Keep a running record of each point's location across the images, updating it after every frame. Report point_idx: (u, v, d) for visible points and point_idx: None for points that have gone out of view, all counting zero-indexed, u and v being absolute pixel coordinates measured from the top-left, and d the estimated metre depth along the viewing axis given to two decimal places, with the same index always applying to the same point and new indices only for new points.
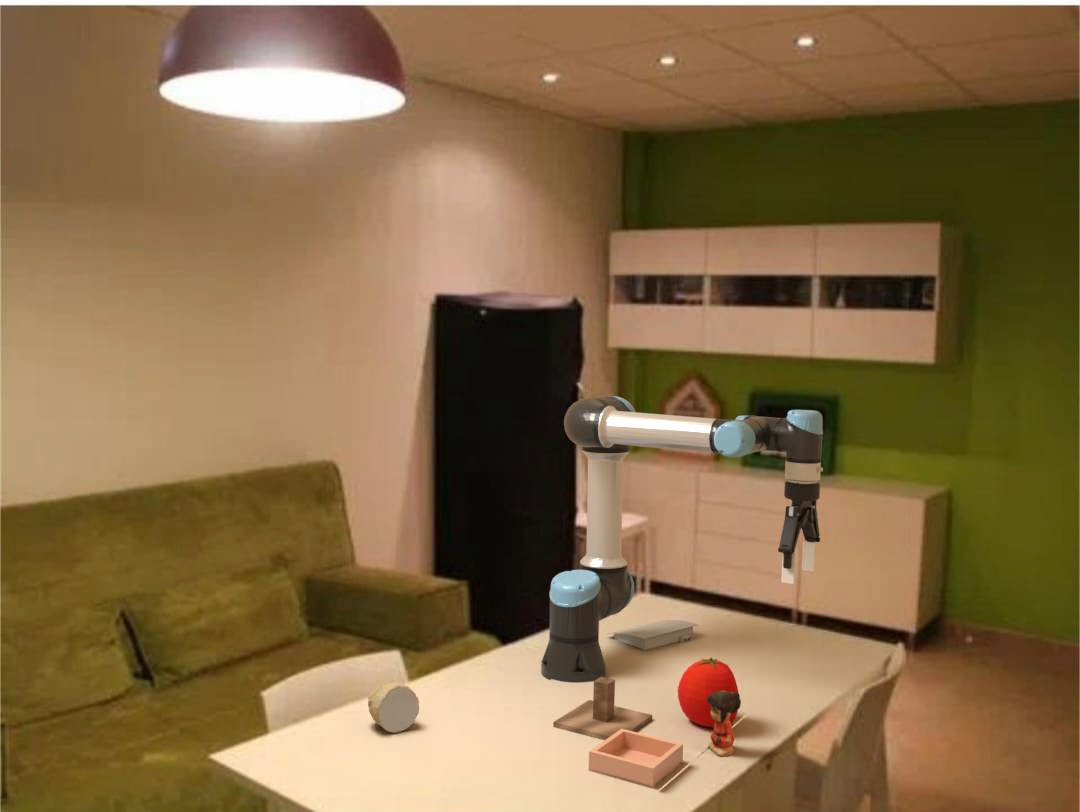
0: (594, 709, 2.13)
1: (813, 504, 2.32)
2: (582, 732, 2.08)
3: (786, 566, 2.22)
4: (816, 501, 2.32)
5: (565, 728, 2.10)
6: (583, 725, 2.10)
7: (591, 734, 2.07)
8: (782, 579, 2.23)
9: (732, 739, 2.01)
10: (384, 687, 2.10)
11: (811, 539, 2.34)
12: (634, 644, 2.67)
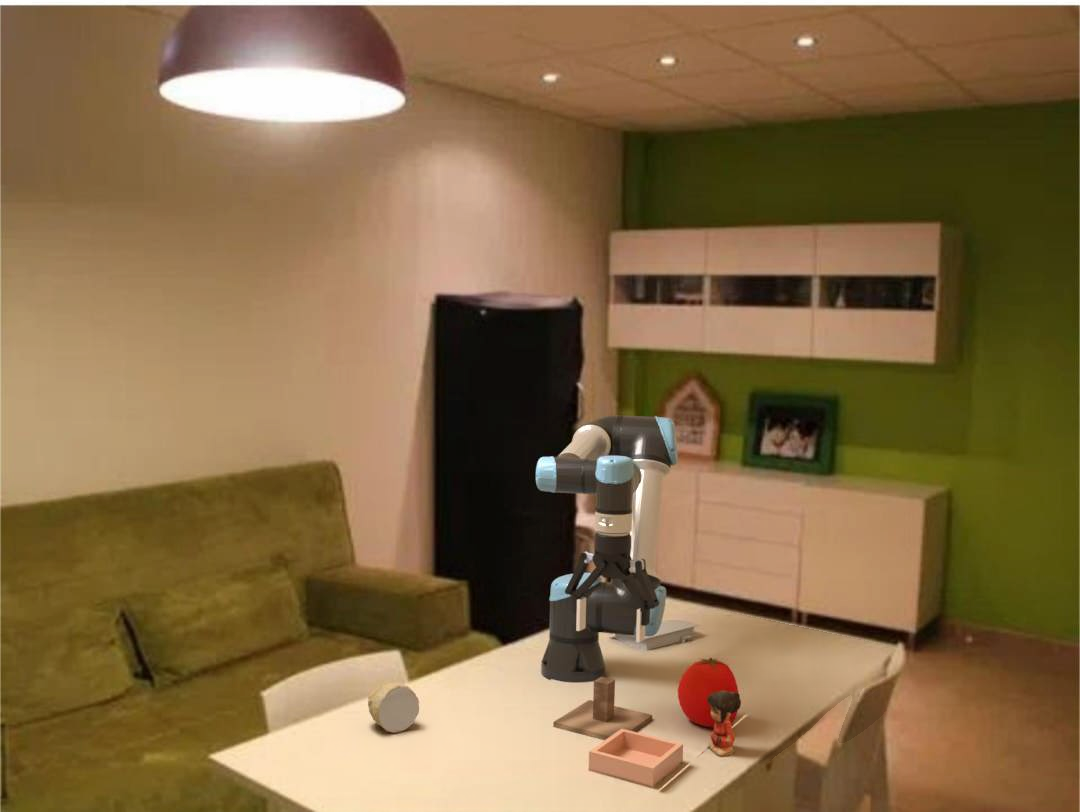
0: (594, 709, 2.13)
1: None
2: (582, 732, 2.08)
3: None
4: (638, 563, 2.08)
5: (565, 728, 2.10)
6: (583, 725, 2.10)
7: (591, 734, 2.07)
8: None
9: (732, 739, 2.01)
10: (384, 687, 2.10)
11: None
12: (635, 644, 2.67)
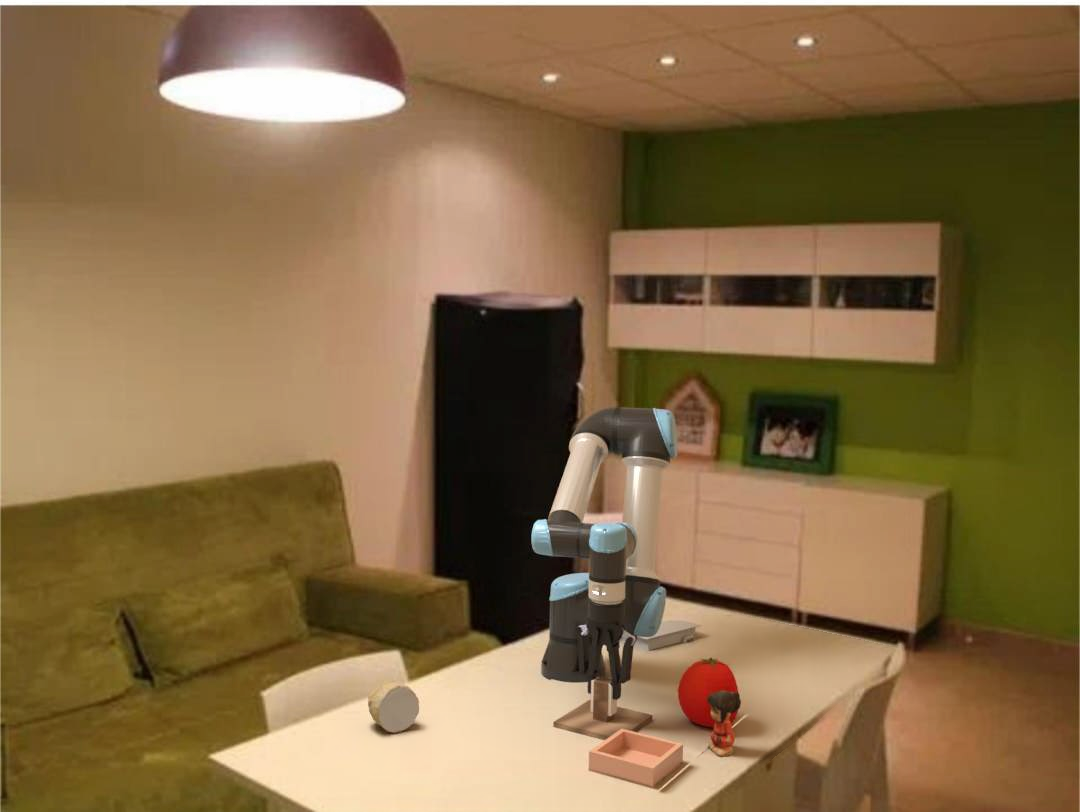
0: (594, 709, 2.13)
1: None
2: (582, 732, 2.08)
3: None
4: (629, 640, 2.09)
5: (565, 728, 2.10)
6: (583, 725, 2.10)
7: (591, 734, 2.07)
8: None
9: (732, 739, 2.01)
10: (384, 687, 2.10)
11: None
12: (637, 645, 2.67)
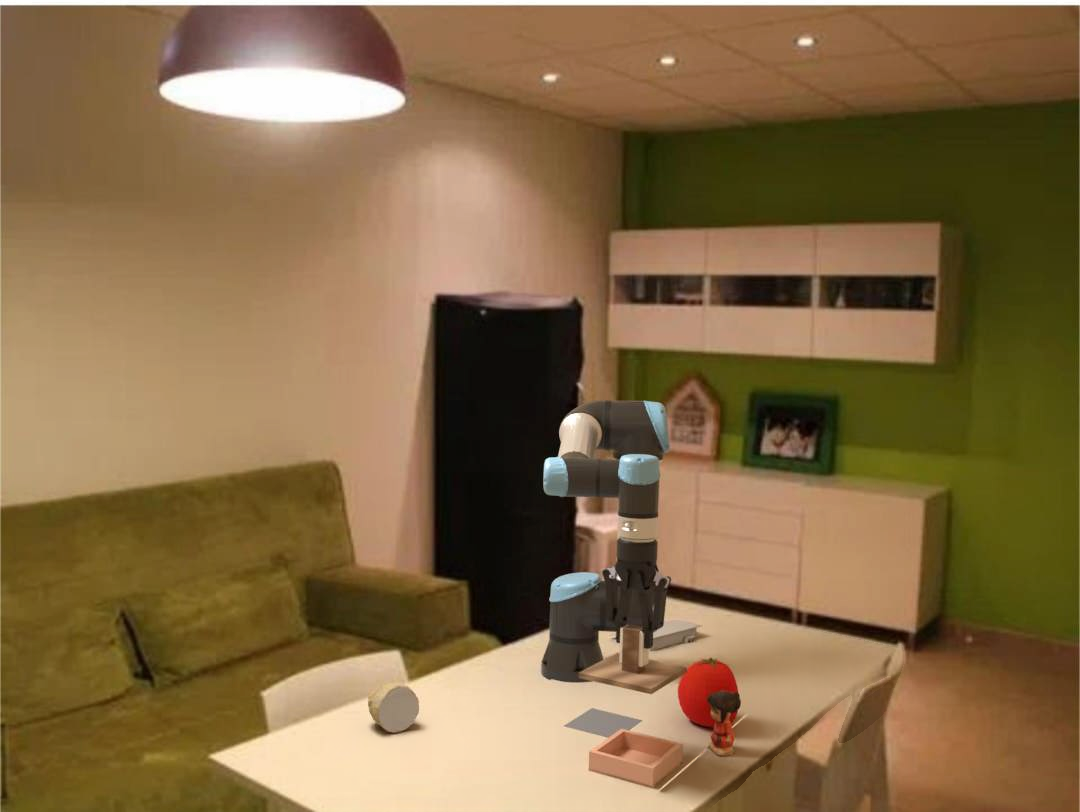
0: (623, 659, 1.94)
1: None
2: (610, 683, 1.89)
3: None
4: (663, 581, 1.89)
5: (591, 679, 1.91)
6: (611, 676, 1.90)
7: (620, 685, 1.87)
8: None
9: (732, 739, 2.01)
10: (384, 687, 2.10)
11: None
12: None
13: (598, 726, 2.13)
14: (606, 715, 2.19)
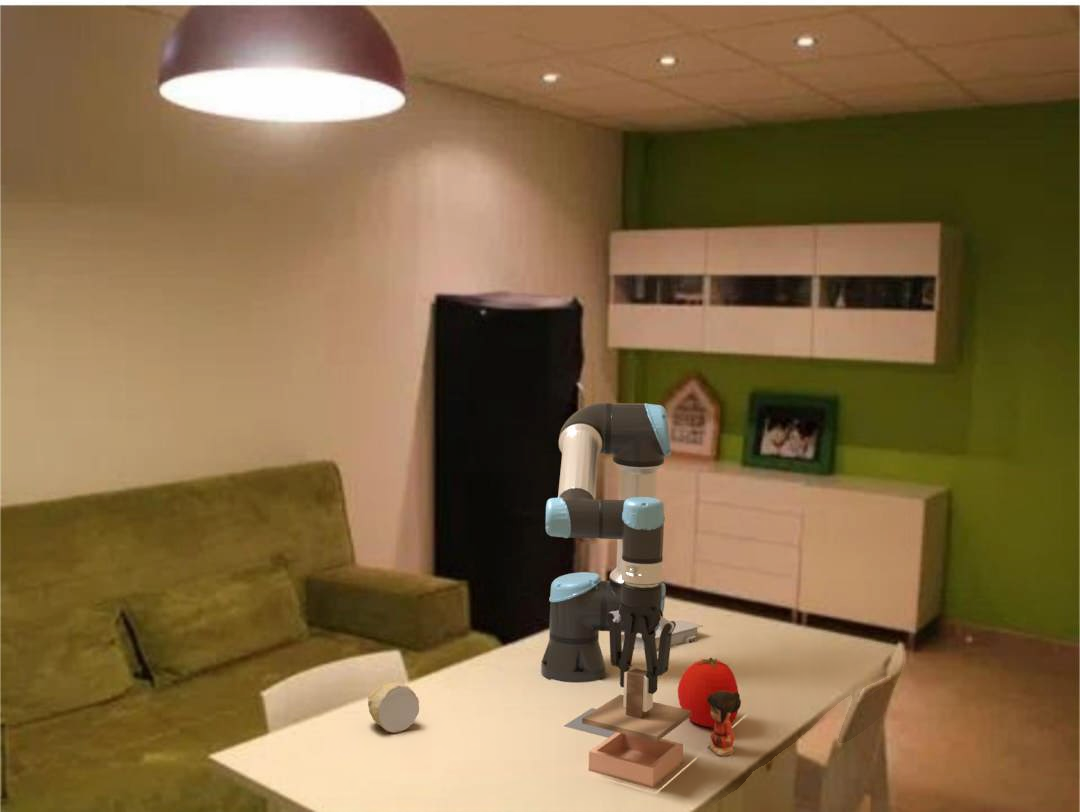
0: (627, 704, 1.92)
1: None
2: (615, 729, 1.87)
3: None
4: (667, 627, 1.87)
5: (595, 725, 1.89)
6: (615, 722, 1.89)
7: (625, 732, 1.86)
8: None
9: (732, 739, 2.01)
10: (384, 687, 2.10)
11: None
12: (639, 645, 2.66)
13: None
14: None
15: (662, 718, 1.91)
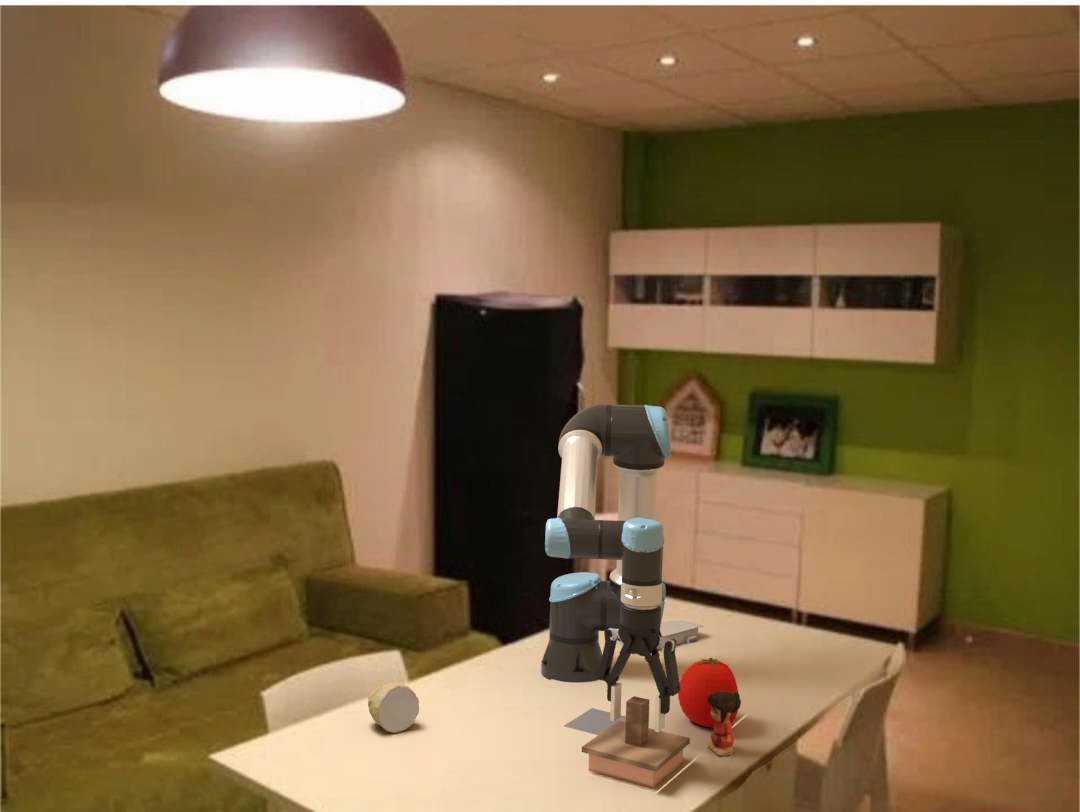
0: (626, 732, 1.93)
1: None
2: (614, 758, 1.88)
3: None
4: (668, 645, 1.87)
5: (595, 754, 1.90)
6: (615, 750, 1.89)
7: (625, 761, 1.86)
8: None
9: (732, 739, 2.01)
10: (384, 687, 2.10)
11: None
12: None
13: (598, 726, 2.13)
14: (606, 715, 2.19)
15: (661, 746, 1.92)
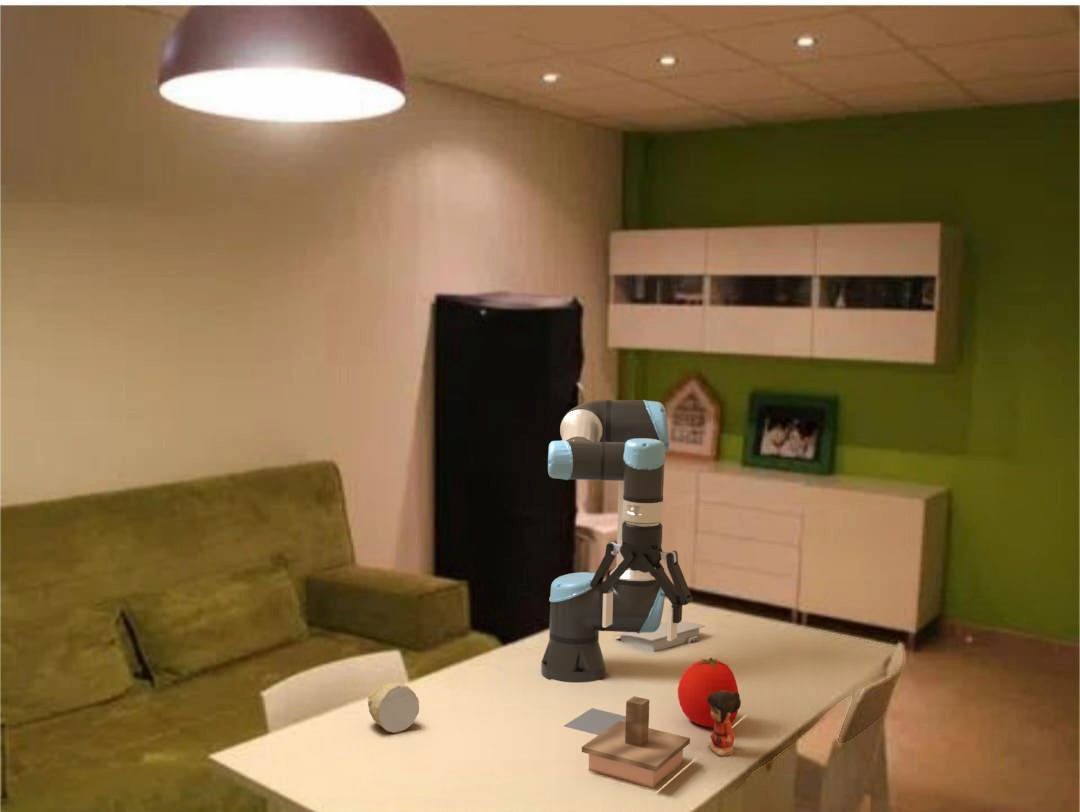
0: (626, 732, 1.93)
1: None
2: (614, 758, 1.88)
3: None
4: (669, 555, 1.91)
5: (595, 754, 1.90)
6: (615, 750, 1.89)
7: (625, 761, 1.86)
8: None
9: (732, 739, 2.01)
10: (384, 687, 2.10)
11: None
12: (642, 646, 2.66)
13: (598, 726, 2.13)
14: (606, 715, 2.19)
15: (661, 746, 1.92)
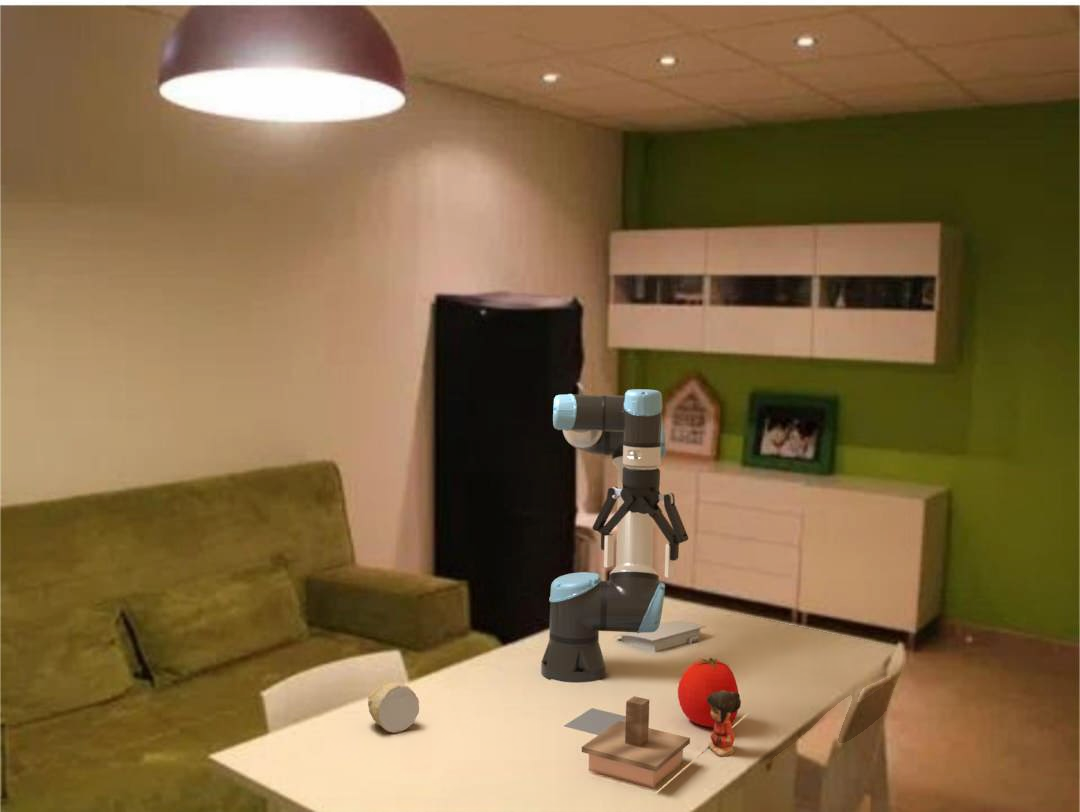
0: (626, 732, 1.93)
1: None
2: (614, 758, 1.88)
3: None
4: (666, 497, 2.05)
5: (595, 754, 1.90)
6: (615, 750, 1.89)
7: (625, 761, 1.86)
8: None
9: (732, 739, 2.01)
10: (384, 687, 2.10)
11: None
12: (643, 646, 2.66)
13: (598, 726, 2.13)
14: (606, 715, 2.19)
15: (661, 746, 1.92)
